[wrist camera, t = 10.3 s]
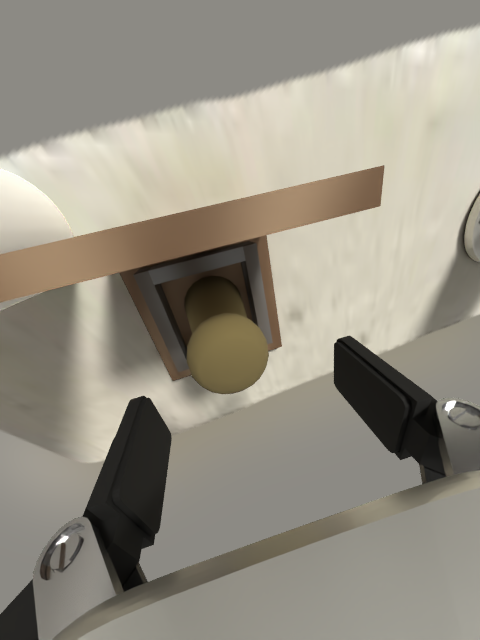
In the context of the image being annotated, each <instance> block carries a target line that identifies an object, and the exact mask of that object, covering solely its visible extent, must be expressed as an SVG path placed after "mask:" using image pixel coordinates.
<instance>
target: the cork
mask: <svg viewBox="0 0 480 640" xmlns="http://www.w3.org/2000/svg"><path fill="white" fill-rule="evenodd" d="M184 307H185V311H186V314H187V318H188V321H189V324H190V328H191V331H192V336H191V338H190V340H189V343H188V345H187V364H188V367H189V369H190V372H191V375H192V377H193V378H194V379H195V380H196V381H197V382H198V384H199V385H201V386H202V387H203V388H205V389H207V390H209V391H211V392H214V393H219V394H233V393H236V392H240V391H243V390H245V389H247V388H248V387H250V386H252V385H253V384H254V383H255V382H256V381H257V380H258V379H259V378H260V377H261V375H262V374H263V372H264V370H265V368H266V365H267V361H268V356H269V353H268V346H267V340H266V338H265V336H264V335H263V333H262V331H261V330H260V328H259V327H258V326H257V325H256V324H255V323H253V322H252V321H251V320H250V319H248V318H247V315H246V312H245V308H244V305H243V301H242V298H241V294H240V292H239V290H238V288H237V287H236V285H234V284H233V283H232V282H231V281H230V280H228V279H226V278H223V277H221V276H208V277H203V278H201V279H199V280H198V281H196V282H194V283H193V284H192V286H191V287H190V288H189V289H188V291H187V293H186V296H185V303H184Z"/></svg>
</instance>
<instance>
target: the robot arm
mask: <svg viewBox="0 0 480 640" xmlns="http://www.w3.org/2000/svg"><path fill="white" fill-rule="evenodd" d="M464 244H465V249H466V251H467V253H468V255H469V257H470V258H472V259H473V260H475V261H477V262H480V194H479V196H478V198H477V199H476V201H475V203H474V205H473V207H472V210H471V212H470V214H469V217H468V220H467V224H466V228H465V234H464ZM334 384H335V386H336V388H337V389H338V391H339V392H340V393H341V394H342V395H343V397H344V398H345V399H346V400H347V401H348V403H349V404H350V405H351V406H352V407H353V409H354V410H355V411H356V412H357V413H358V415H359V416H360V417H361V418H362V419H363V421H364V422H365V423H366V424H367V425H368V427H369V428H370V429H371V430H372V431H373V433H374V434H375V435H376V436H377V437H378V439H379V440H380V441H381V442H382V443H383V445H384V446H385V447H386V448H387V449H388V450H389V451H390V452H391V453H395V454H396V455H397V456H398V458H399V459H400V460H402V459H405V458H408V457H411V456H412V457H413V458H414V459H415V460H416V461H417V462H418V463H419V467H420V473H421V479H422V485H419V486H416V487H413V488H410V489H407V490H404V491H400V492H398V493H395V494H392V495H389V496H386V497H383V498H380V499H378V500H375V501H372V502H369V503H366V504H363V505H360V506H357V507H355V508H352V509H349V510H346V511H343V512H340V513H337V514H335V515H332V516H329V517H326V518H323V519H320V520H317V521H315V522H312V523H309V524H306V525H303V526H301V527H298V528H295V529H292V530H289V531H286V532H284V533H281V534H278V535H275V536H273V537H270V538H267V539H264V540H261V541H259V542H256V543H253V544H250V545H247V546H244V547H242V548H239V549H236V550H233V551H231V552H228V553H225V554H222V555H219V556H217V557H214V558H211V559H209V560H206V561H203V562H200V563H197V564H195V565H192V566H189V567H186V568H183V569H181V570H178V571H176V572H173V573H170V574H168V575H165V576H163V577H160V578H157V579H155V580H152V581H150V582H148V581H147V579H146V577H145V575H144V572H143V570H142V568H141V566H140V564H139V559H140V554H141V549H143V548H145V547H149V546H151V545H154V539H155V534H156V533H158V531H159V528H160V522H161V515H162V507H163V500H164V492H165V484H166V477H167V469H168V462H169V454H170V446H171V433H170V431H169V429H168V427H167V426H166V424H165V422H164V421H163V419H162V417H161V416H160V414H159V412H158V411H157V409H156V407H155V406H154V404H153V402H152V401H151V399H150V398H146V397H145V396H141V397H138V398H134V399H131V400H130V402H129V404H128V406H127V409H126V411H125V414H124V416H123V419H122V421H121V424H120V426H119V429H118V431H117V434H116V436H115V438H114V440H113V442H112V444H111V447H110V449H109V452H108V454H107V457H106V459H105V462H104V464H103V467H102V469H101V472H100V474H99V477H98V479H97V482H96V484H95V487H94V489H93V492H92V494H91V497H90V500H89V502H88V504H87V507H86V509H85V512H84V515H83V517H78V518H75V519H73V520H71V521H69V522H68V523H66V524H65V525H64V526H63V527H61V528H60V529H59V530H58V531H57V532H56V534H55V535H54V536H53V537H52V538H51V539H50V541H49V542H48V543H47V545H46V546H45V547H44V549H43V551H42V553H41V554H40V556H39V558H38V560H37V563H36V566H35V569H34V572H33V579H32V580H31V582H30V583H29V584H28V585H27V586H26V587H25V588H24V589H23V590H22V592H20V594H19V595H18V596H17V597H16V598H15V599H14V600H13V601H12V602H11V603H10V604H9V605H8V607H7V608H6V609H5V610H4V611H3V612H2V613H1V614H0V640H480V406H478V405H476V404H474V403H471V402H469V401H466V400H462V399H459V398H443V399H441V400H439V401H437V400H435V399H434V398H433V397H432V396H431V395H429V394H428V393H427V392H425V391H424V390H422V389H421V388H420V387H419V386H417V385H416V384H414V383H413V382H412V381H410V380H409V379H407V378H406V377H405V376H404V375H402V374H401V373H400V372H398V371H397V370H395V369H394V368H393V367H392V366H390V365H389V364H387V363H386V362H385V361H383V360H382V359H380V358H379V357H378V356H377V355H375V354H374V353H373V352H371V351H370V350H369V349H367V348H366V347H365V346H363V345H362V344H361V343H359V342H358V341H357V340H355V339H354V338H352V337H351V336H347V337H343V338H340V339H337V342H336V343H335V344H334Z"/></svg>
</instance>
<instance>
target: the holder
mask: <svg viewBox="0 0 480 640" xmlns="http://www.w3.org/2000/svg"><path fill="white" fill-rule="evenodd" d="M383 174H384V166H380V167H375V168H371V169H367V170H362V171H358V172H354V173H349V174H345V175H341V176H336V177H332V178H328V179H323V180H319V181H315V182H310V183H306V184H302V185H297V186H293V187H289V188H284V189H280V190H276V191H271V192H267V193H263V194H259V195H254V196H250V197H246V198H241V199H237V200H233V201H228V202H224V203H220V204H215V205H211V206H207V207H202V208H198V209H194V210H189V211H185V212H181V213H176V214H172V215H168V216H163V217H159V218H155V219H150V220H146V221H142V222H137V223H133V224H129V225H125V226H120V227H116V228H112V229H107V230H103V231H99V232H94V233H90V234H86V235H81V236H77V237H73V238H68V239H64V240H60V241H55V242H51V243H47V244H42V245H38V246H34V247H29V248H25V249H21V250H16V251H12V252H8V253H3V254H0V303H1V302H5V301H9V300H13V299H16V298H20V297H24V296H28V295H32V294H36V293H40V292H44V291H48V290H52V289H56V288H60V287H64V286H68V285H72V284H76V283H79V282H83V281H87V280H91V279H95V278H99V277H103V276H107V275H111V274H115V273H120V275H121V277H122V279H123V281H124V283H125V285H126V287H127V289H128V291H129V293H130V295H131V297H132V299H133V301H134V303H135V305H136V307H137V309H138V311H139V313H140V315H141V317H142V319H143V322H144V324H145V326H146V328H147V330H148V332H149V334H150V336H151V338H152V340H153V342H154V344H155V346H156V348H157V350H158V352H159V354H160V356H161V358H162V360H163V362H164V364H165V366H166V368H167V370H168V372H169V374H170V376H171V378H172V380H173V381H174V380H177V379H181V378H184V377H187V376H190V375H191V372H190V369H189V367H188V364H187V345H188V343H189V340H190V338H191V336H192V331H191V328H190V324H189V321H188V318H187V314H186V311H185V307H184V303H185V296H186V293H187V291H188V289H189V288H190V287H191V286H192V284H193V283H194V282H196V281H198V280H199V279H201V278H203V277H208V276H221V277H223V278H226V279H228V280H230V281H231V282H232V283H233V284H234V285H236V287H237V288H238V290H239V292H240V294H241V298H242V301H243V305H244V308H245V312H246V315H247V318H248V319H250V320H251V321H252V322H253V323H255V324H256V325H257V326H258V327H259V328H260V330H261V331H262V333H263V335H264V336H265V338H266V340H267V346H268V351H269V350H272V349H275V348H279V347H282V344H281V337H280V330H279V322H278V315H277V308H276V301H275V294H274V287H273V280H272V272H271V265H270V258H269V251H268V244H267V237H266V235H268V234H272V233H276V232H280V231H284V230H288V229H292V228H296V227H300V226H304V225H308V224H312V223H316V222H320V221H324V220H328V219H331V218H335V217H339V216H343V215H347V214H351V213H355V212H359V211H363V210H367V209H371V208H375V207H379V206H380V204H381V194H382V184H383Z"/></svg>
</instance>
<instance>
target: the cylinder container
mask: <svg viewBox="0 0 480 640" xmlns="http://www.w3.org/2000/svg"><path fill="white" fill-rule="evenodd" d="M73 237H74V236H73V233H72V230H71V228H70V226H69V224H68V222H67V220H66V219H65V217H64V215H63V214H62V213H61V211H60V210H59V209H58V207H57V206H56V205H55V204H54V203H53V202H52V201H51V200H50V199H49V198H48V197H47V196H46V195H45V194H44V193H43V192H42V191H40V190H39V189H38V188H36V187H35V186H34V185H32V184H31V183H29V182H28V181H26V180H24V179H23V178H21V177H19V176H17V175H15V174H13V173H11V172H8V171H6V170H3V169H1V168H0V254H3V253H8V252H12V251H16V250H21V249H25V248H29V247H34V246H38V245H42V244H47V243H51V242H55V241H60V240H64V239H68V238H73ZM44 292H45V291H44ZM40 293H42V292H40ZM40 293H36V294H32V295H28V296H24V297H20V298H16V299H13V300H9V301H5V302H1V303H0V311H2V310H4V309H6V308H8V307H11V306H13V305H15V304H17V303H20V302H22V301H24V300H26V299H29V298H31V297H33V296H35V295H38V294H40Z"/></svg>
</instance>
